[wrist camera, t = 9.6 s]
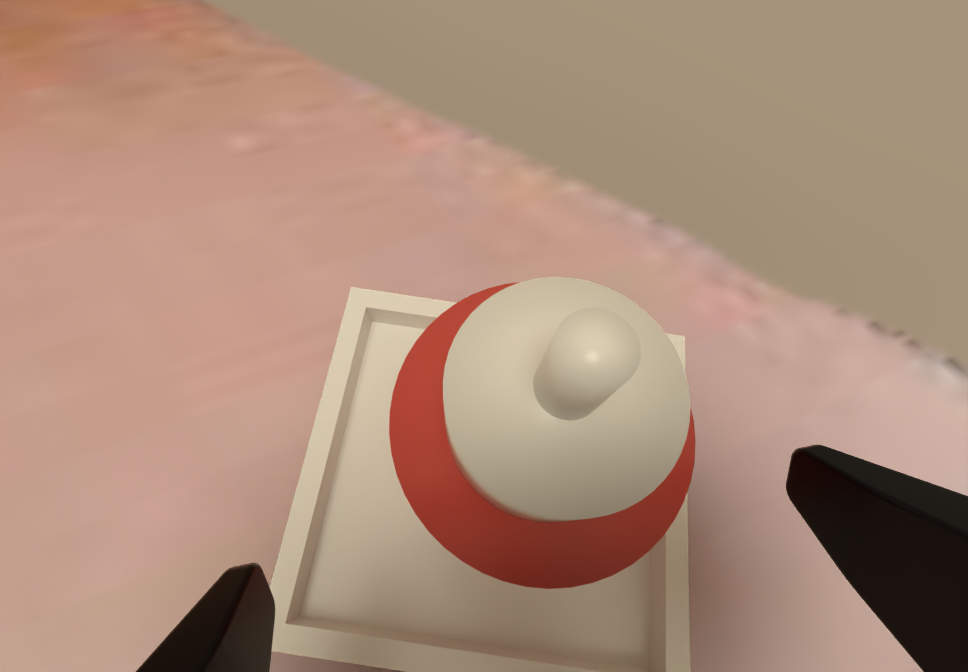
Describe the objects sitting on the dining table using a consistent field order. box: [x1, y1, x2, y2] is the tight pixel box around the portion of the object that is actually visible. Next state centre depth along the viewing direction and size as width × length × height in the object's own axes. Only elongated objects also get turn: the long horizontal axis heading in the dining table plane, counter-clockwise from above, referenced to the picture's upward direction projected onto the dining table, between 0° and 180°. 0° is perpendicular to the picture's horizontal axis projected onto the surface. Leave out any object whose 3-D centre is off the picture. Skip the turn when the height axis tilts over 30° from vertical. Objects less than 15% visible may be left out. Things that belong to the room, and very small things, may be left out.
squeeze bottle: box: [389, 277, 695, 589], centre depth 12 cm, size 6×6×15 cm
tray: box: [270, 287, 690, 672], centre depth 19 cm, size 14×13×2 cm
